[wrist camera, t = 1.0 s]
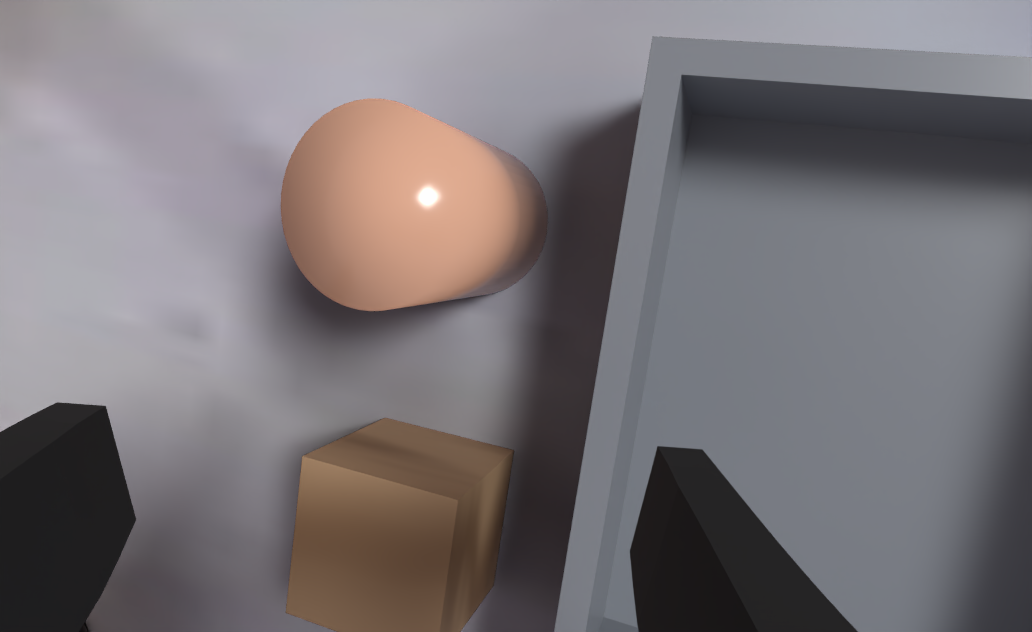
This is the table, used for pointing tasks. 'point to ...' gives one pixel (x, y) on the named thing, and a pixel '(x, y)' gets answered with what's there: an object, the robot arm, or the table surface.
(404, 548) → the cube
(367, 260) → the peach rounded capsule
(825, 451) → the tote
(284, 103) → the table surface
